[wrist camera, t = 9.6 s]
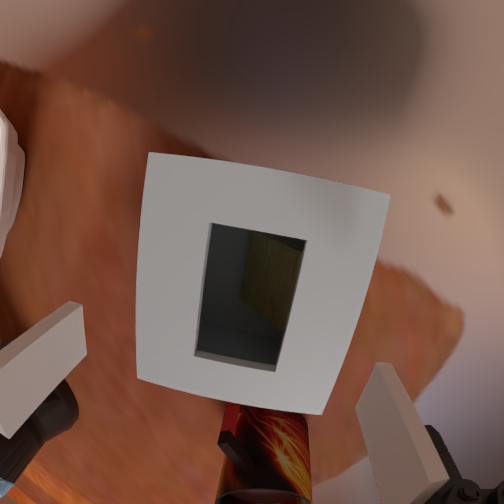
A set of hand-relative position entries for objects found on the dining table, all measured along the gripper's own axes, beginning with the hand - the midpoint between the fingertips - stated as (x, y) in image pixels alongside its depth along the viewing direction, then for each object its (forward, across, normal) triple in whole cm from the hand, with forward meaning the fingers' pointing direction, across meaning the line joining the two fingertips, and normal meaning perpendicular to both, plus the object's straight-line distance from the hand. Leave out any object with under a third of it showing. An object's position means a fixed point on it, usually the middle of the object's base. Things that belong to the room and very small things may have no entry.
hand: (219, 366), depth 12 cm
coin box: (+16, +1, 0) cm, 16 cm away
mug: (+17, +4, -20) cm, 26 cm away
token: (+15, +1, 0) cm, 15 cm away
